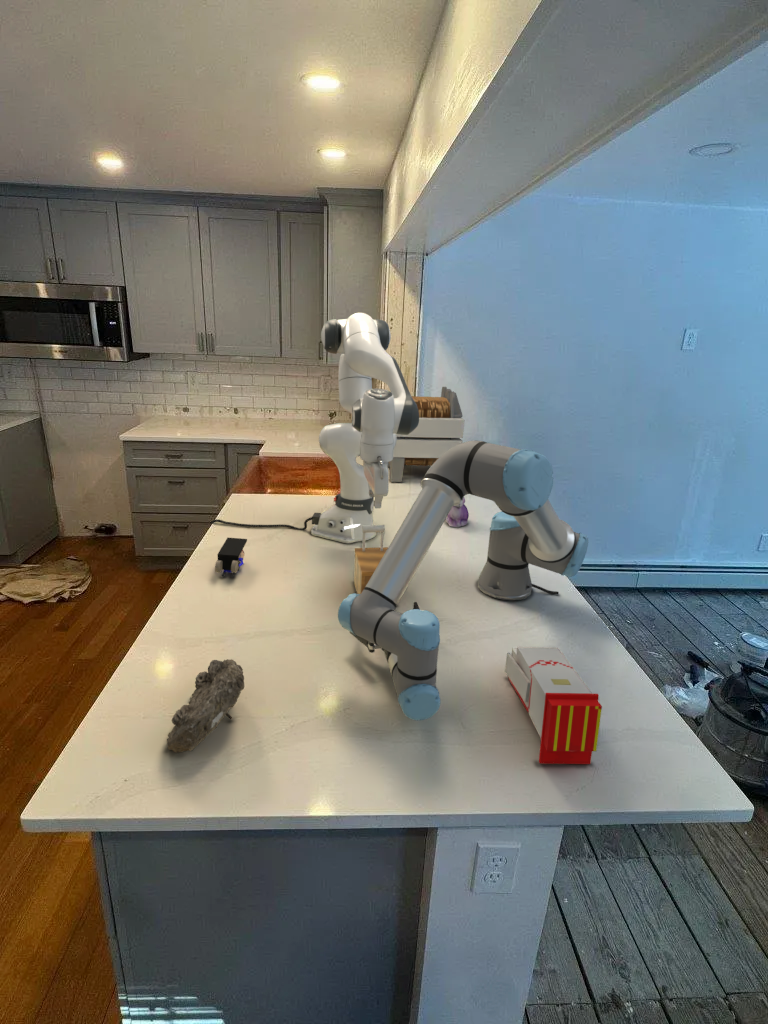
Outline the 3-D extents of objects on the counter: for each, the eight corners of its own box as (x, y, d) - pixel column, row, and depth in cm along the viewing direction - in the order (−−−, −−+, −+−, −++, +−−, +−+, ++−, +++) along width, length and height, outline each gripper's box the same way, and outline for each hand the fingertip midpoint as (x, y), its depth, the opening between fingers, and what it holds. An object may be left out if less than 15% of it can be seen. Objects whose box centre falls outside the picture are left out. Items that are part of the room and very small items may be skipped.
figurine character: (238, 584, 162) (249, 557, 175) (236, 562, 158) (247, 536, 172) (215, 584, 161) (227, 556, 175) (212, 561, 158) (225, 535, 171)
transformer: (382, 463, 289) (386, 382, 275) (445, 464, 293) (451, 384, 279) (390, 482, 257) (394, 392, 243) (460, 483, 261) (468, 394, 247)
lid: (354, 551, 161) (355, 522, 158) (387, 550, 163) (389, 522, 160) (361, 576, 147) (362, 544, 144) (398, 574, 148) (399, 543, 145)
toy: (554, 629, 125) (611, 701, 96) (548, 684, 128) (602, 772, 98) (500, 628, 125) (540, 700, 95) (495, 684, 127) (533, 771, 98)
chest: (353, 582, 163) (354, 553, 160) (386, 581, 165) (388, 552, 162) (360, 607, 150) (361, 576, 147) (396, 606, 151) (398, 575, 148)
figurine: (454, 529, 206) (457, 490, 201) (439, 520, 214) (442, 482, 209) (475, 526, 210) (479, 487, 205) (459, 517, 218) (463, 479, 213)
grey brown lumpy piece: (192, 660, 117) (244, 628, 112) (224, 691, 120) (276, 661, 115) (142, 746, 98) (202, 712, 93) (182, 779, 101) (242, 748, 96)
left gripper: (395, 462, 141) (393, 514, 145) (382, 443, 160) (380, 490, 164) (370, 462, 140) (368, 515, 144) (360, 443, 159) (358, 490, 163)
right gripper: (345, 678, 117) (335, 624, 137) (461, 670, 121) (435, 619, 141) (345, 647, 115) (336, 596, 134) (464, 640, 119) (438, 592, 139)
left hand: (374, 501), depth 154 cm, fingers open, 8 cm apart
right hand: (387, 608), depth 138 cm, fingers open, 13 cm apart
